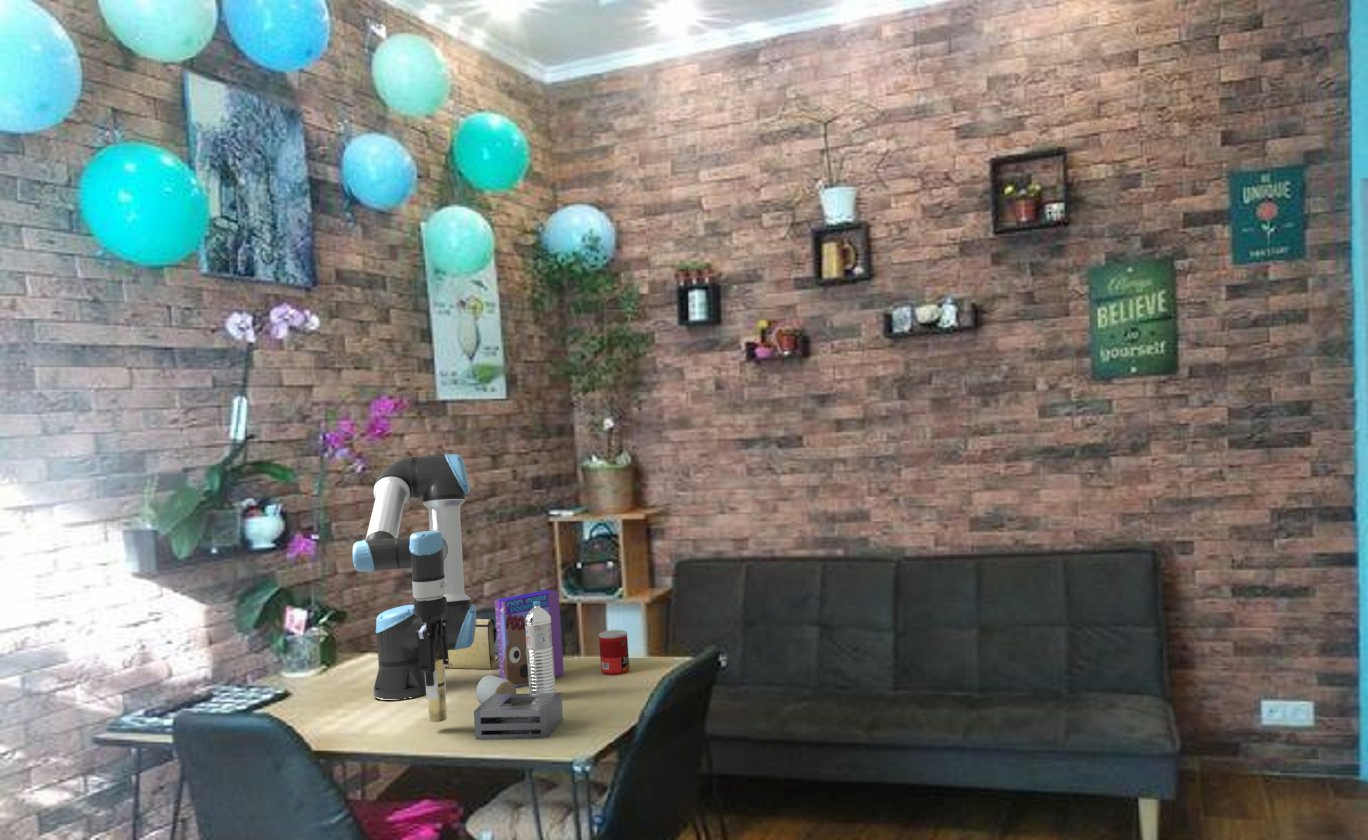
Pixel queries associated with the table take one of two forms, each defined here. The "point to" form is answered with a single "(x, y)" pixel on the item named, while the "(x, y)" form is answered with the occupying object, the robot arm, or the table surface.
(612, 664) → the canned food
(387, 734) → the table surface
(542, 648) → the water bottle
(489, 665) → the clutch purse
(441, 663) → the gold domed cylinder
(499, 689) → the ceramic mug
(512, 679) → the cereal box
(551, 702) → the collar stand
